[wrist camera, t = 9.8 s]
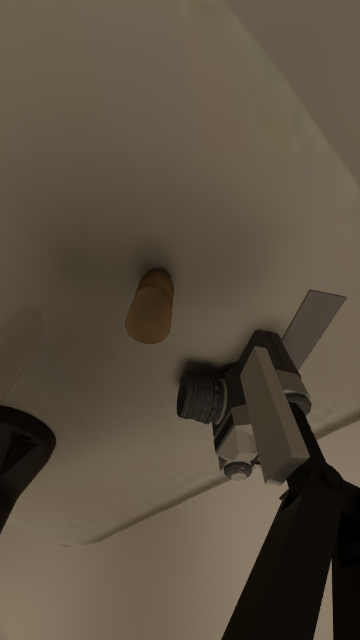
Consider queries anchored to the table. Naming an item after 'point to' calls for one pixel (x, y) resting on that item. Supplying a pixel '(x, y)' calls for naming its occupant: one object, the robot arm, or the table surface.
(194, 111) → the table surface
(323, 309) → the strip
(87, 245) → the table surface
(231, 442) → the camera
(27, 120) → the table surface
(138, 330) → the brown rounded cylinder
